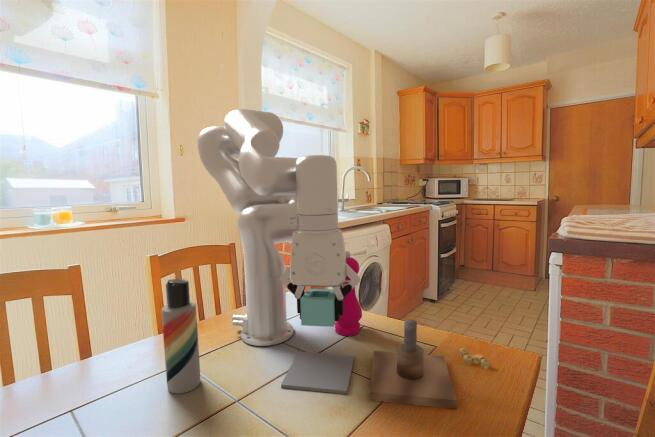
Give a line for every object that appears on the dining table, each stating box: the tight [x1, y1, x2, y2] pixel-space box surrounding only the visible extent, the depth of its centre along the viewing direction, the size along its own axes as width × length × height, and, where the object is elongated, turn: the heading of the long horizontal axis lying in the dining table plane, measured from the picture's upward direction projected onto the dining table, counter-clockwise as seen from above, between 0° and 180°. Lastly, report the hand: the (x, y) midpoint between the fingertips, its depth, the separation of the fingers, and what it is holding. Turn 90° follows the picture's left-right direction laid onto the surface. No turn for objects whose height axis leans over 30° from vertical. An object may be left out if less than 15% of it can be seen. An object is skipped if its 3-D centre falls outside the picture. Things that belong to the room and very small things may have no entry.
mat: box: [280, 351, 355, 395], centre depth 66 cm, size 12×12×1 cm
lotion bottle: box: [161, 278, 201, 395], centre depth 62 cm, size 6×6×20 cm
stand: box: [369, 318, 458, 410], centre depth 63 cm, size 14×14×11 cm
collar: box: [300, 288, 336, 328], centre depth 64 cm, size 6×6×5 cm
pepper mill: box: [334, 250, 363, 337], centre depth 83 cm, size 7×7×20 cm
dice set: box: [459, 348, 491, 370], centre depth 69 cm, size 5×5×2 cm
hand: (320, 316), depth 65 cm, fingers closed on collar, 5 cm apart
